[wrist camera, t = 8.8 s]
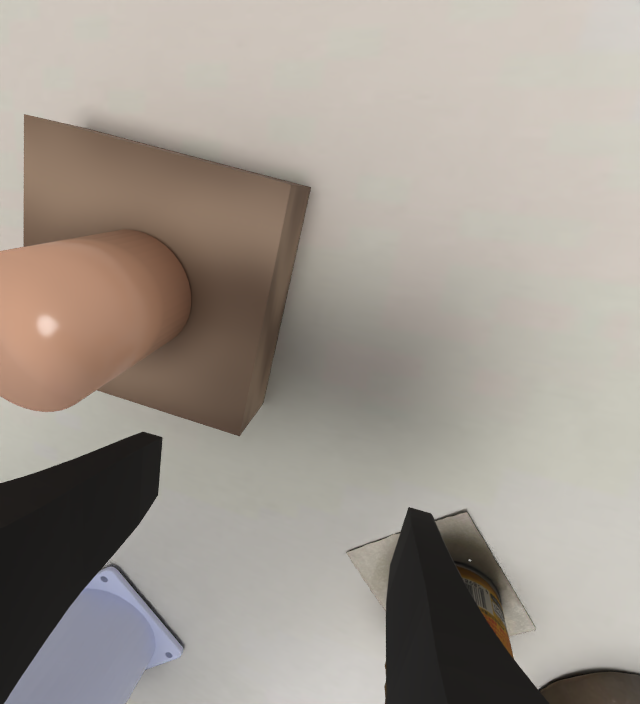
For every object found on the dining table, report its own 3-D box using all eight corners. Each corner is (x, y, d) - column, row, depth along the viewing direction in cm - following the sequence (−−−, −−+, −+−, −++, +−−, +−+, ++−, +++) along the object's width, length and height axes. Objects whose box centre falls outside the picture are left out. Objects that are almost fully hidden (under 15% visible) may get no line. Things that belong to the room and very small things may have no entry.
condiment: (416, 655, 27) (422, 973, 16) (346, 550, 26) (298, 819, 14) (535, 625, 25) (638, 971, 14) (466, 507, 23) (519, 788, 12)
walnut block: (265, 399, 24) (239, 436, 20) (80, 341, 25) (23, 366, 21) (313, 187, 20) (291, 184, 16) (91, 129, 21) (24, 114, 17)
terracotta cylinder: (143, 367, 20) (41, 438, 15) (61, 282, 19) (-79, 323, 14) (214, 300, 18) (129, 353, 13) (127, 202, 18) (-4, 214, 12)
